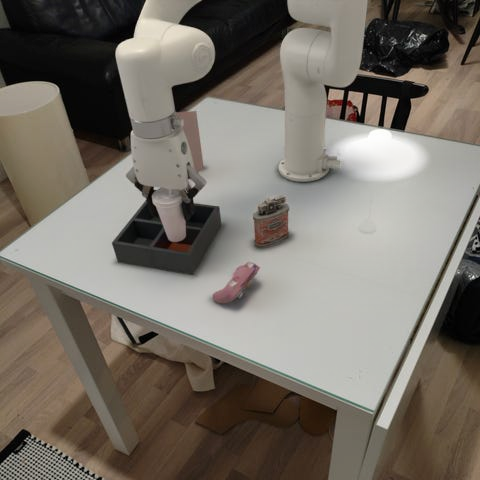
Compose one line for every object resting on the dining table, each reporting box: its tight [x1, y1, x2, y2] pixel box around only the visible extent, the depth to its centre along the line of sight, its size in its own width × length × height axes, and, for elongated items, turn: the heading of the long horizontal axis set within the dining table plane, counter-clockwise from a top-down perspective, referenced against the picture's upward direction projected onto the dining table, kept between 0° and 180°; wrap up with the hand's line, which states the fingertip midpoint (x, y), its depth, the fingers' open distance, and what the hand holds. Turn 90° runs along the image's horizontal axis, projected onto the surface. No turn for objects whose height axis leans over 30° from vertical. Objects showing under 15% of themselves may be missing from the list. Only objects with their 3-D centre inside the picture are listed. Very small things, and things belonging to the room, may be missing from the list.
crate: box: [111, 200, 223, 276], centre depth 103 cm, size 17×17×5 cm
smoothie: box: [152, 187, 186, 242], centre depth 92 cm, size 6×6×14 cm
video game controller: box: [212, 261, 261, 304], centre depth 91 cm, size 10×5×7 cm, turn 148°
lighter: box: [252, 194, 290, 249], centre depth 99 cm, size 8×3×10 cm, turn 118°
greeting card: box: [176, 110, 205, 172], centre depth 119 cm, size 11×7×15 cm, turn 92°
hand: (172, 213), depth 93 cm, fingers closed on smoothie, 6 cm apart
